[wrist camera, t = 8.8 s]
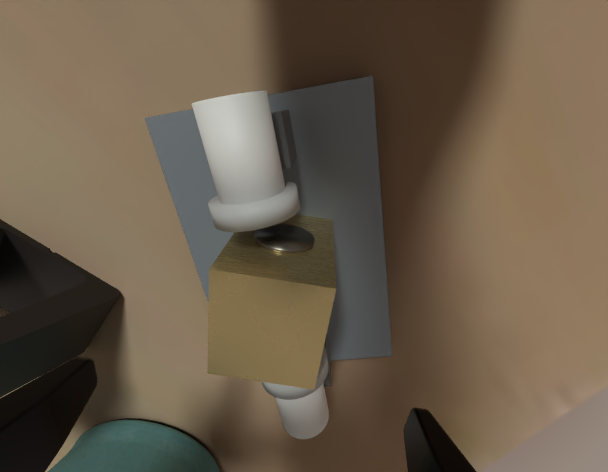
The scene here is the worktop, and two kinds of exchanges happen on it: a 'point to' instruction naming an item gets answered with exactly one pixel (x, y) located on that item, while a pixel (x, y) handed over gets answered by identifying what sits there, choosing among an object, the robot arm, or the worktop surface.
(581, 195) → the worktop surface
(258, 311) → the tan block
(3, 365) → the phone stand
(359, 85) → the grey plate with pegs
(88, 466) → the flower pot
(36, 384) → the robot arm
